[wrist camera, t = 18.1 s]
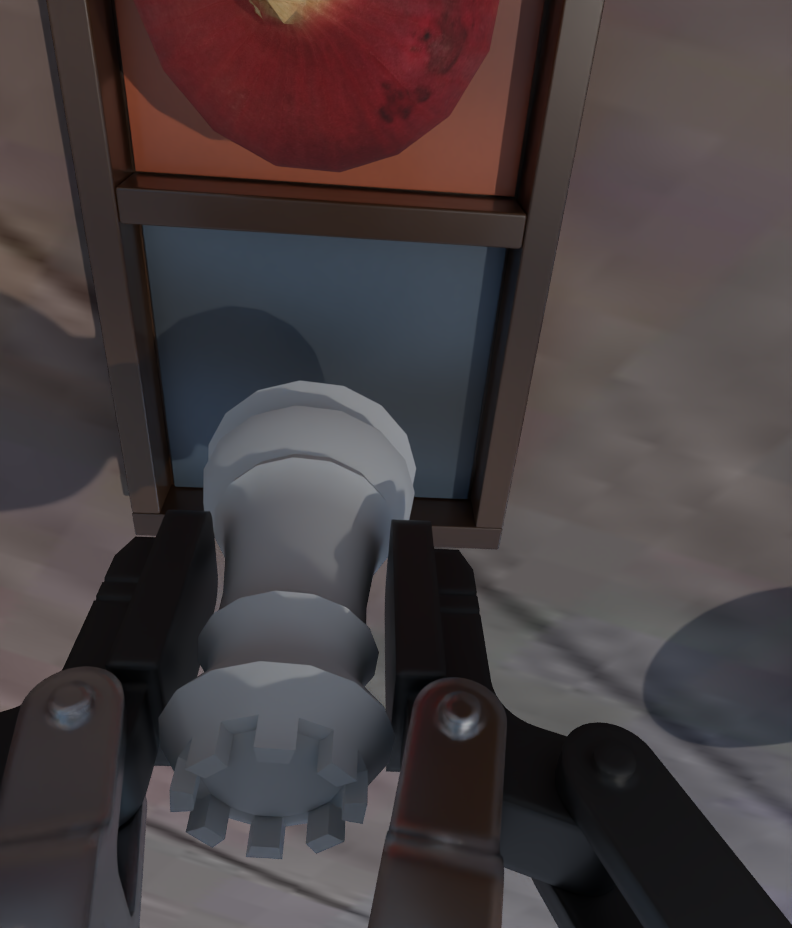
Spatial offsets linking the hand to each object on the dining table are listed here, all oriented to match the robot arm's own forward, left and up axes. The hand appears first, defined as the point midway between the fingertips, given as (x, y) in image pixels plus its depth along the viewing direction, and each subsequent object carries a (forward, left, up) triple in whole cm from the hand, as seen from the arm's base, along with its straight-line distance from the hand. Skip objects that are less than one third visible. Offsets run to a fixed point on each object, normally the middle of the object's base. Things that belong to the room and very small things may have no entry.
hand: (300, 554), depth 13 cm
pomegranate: (-9, 0, -8) cm, 12 cm away
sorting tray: (-4, 0, -8) cm, 9 cm away
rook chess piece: (0, 0, -3) cm, 3 cm away
